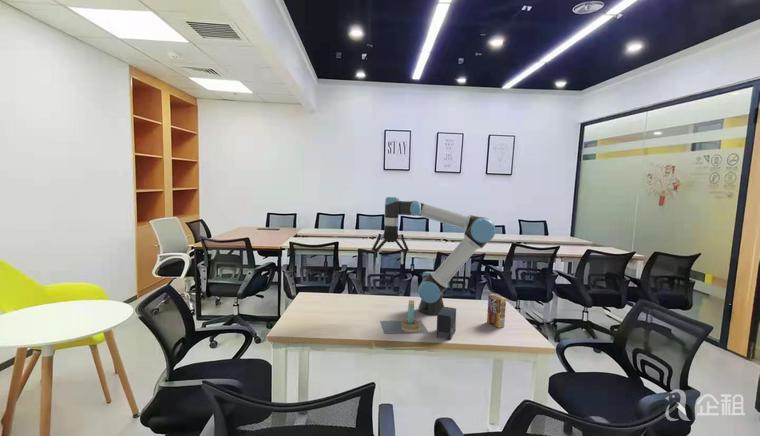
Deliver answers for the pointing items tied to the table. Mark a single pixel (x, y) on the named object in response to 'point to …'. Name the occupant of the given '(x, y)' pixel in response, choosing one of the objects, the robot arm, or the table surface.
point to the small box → (446, 323)
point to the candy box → (496, 310)
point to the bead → (410, 326)
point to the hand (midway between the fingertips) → (389, 263)
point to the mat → (399, 328)
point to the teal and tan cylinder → (411, 312)
